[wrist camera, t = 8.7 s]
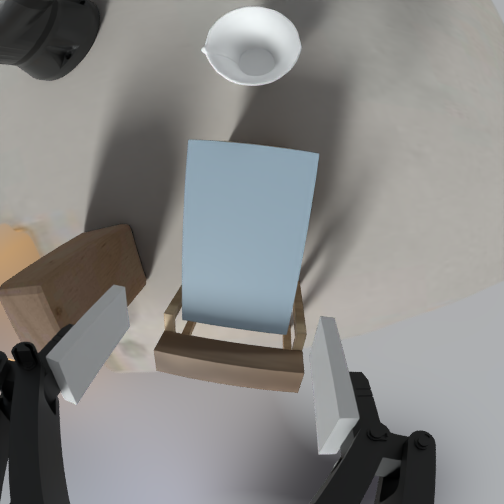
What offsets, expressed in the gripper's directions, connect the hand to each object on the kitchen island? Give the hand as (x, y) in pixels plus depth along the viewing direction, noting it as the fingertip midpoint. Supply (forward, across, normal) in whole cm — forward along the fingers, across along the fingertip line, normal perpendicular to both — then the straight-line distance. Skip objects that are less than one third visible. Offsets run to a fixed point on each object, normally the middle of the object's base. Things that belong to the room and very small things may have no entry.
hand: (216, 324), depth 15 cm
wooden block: (+24, -20, -9) cm, 33 cm away
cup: (+24, -2, +19) cm, 31 cm away
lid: (+16, 0, 0) cm, 16 cm away
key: (+12, 0, -12) cm, 17 cm away
